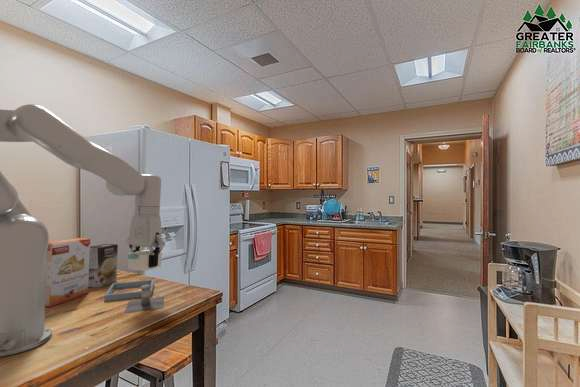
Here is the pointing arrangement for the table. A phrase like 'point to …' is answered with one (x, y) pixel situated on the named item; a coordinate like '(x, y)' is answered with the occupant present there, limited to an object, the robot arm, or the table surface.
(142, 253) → the collar
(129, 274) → the table surface
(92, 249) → the coffee box
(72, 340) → the table surface
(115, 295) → the tray
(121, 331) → the table surface
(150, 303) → the board
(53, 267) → the cracker box
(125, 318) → the table surface
